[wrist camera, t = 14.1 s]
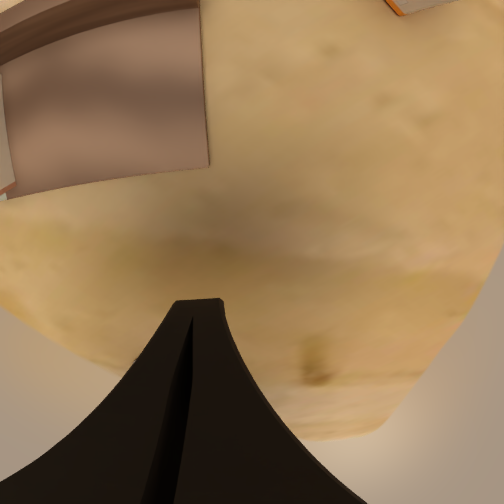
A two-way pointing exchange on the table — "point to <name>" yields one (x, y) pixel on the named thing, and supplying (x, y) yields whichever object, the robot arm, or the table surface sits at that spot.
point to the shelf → (101, 90)
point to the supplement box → (414, 5)
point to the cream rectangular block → (5, 152)
